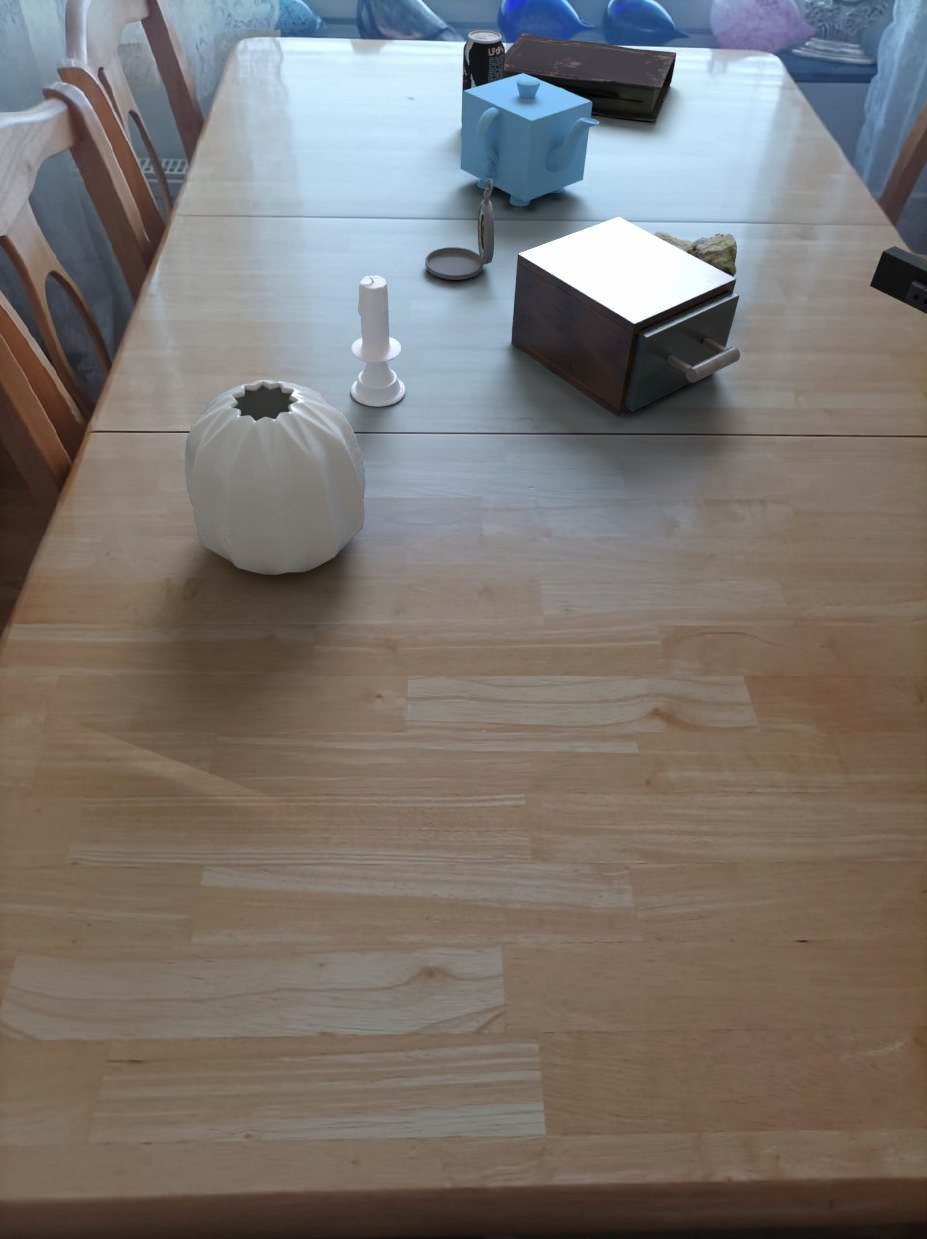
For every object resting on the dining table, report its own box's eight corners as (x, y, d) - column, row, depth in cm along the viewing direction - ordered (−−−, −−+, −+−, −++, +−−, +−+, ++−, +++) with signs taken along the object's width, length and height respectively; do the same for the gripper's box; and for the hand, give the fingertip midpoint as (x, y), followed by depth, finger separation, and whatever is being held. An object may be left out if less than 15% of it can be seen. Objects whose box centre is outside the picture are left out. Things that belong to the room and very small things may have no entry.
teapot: (445, 186, 123) (447, 78, 113) (530, 156, 130) (538, 52, 120) (542, 237, 114) (552, 125, 104) (627, 202, 121) (645, 94, 111)
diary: (520, 63, 155) (523, 29, 151) (671, 83, 151) (677, 48, 147) (491, 103, 143) (493, 66, 139) (654, 125, 138) (660, 88, 135)
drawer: (750, 385, 92) (772, 312, 86) (662, 432, 87) (679, 357, 81) (617, 306, 102) (629, 235, 96) (530, 343, 96) (537, 271, 90)
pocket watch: (413, 266, 108) (412, 177, 101) (469, 245, 112) (472, 158, 104) (459, 295, 104) (461, 205, 97) (515, 272, 108) (521, 184, 100)
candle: (368, 413, 89) (361, 296, 80) (341, 386, 92) (331, 270, 83) (416, 396, 91) (414, 281, 82) (388, 370, 94) (384, 255, 85)
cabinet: (713, 368, 96) (736, 278, 88) (617, 416, 90) (634, 324, 82) (605, 303, 104) (618, 216, 96) (510, 343, 98) (517, 253, 90)
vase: (252, 467, 83) (229, 332, 73) (396, 509, 80) (391, 373, 70) (164, 568, 74) (124, 430, 64) (321, 619, 71) (305, 482, 61)
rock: (646, 259, 113) (631, 285, 106) (658, 204, 109) (644, 227, 102) (734, 278, 111) (726, 306, 104) (750, 223, 107) (743, 247, 100)
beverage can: (462, 119, 138) (464, 27, 129) (500, 121, 138) (506, 29, 129) (460, 135, 134) (462, 40, 125) (500, 137, 134) (505, 42, 125)
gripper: (1122, 507, 57) (811, 338, 69) (1215, 433, 63) (912, 288, 75) (1198, 404, 52) (845, 239, 64) (1292, 333, 57) (952, 194, 70)
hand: (882, 266), depth 70 cm, fingers closed
